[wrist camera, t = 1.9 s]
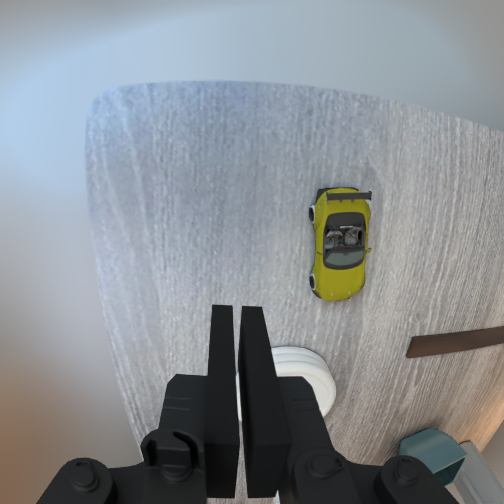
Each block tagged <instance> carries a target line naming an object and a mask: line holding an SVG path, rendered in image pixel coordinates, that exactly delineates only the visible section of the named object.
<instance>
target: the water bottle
mask: <svg viewBox="0 0 504 504" xmlns="http://www.w3.org/2000/svg"><path fill="white" fill-rule="evenodd" d="M460 446H461V447H462V448H463V450H464V451H465V452H466V453H467V454H468V457H467V459H466V461H465V462H464V464H463V466H462V468H461V470H460V472H459V474H458V476H457V477H456V479H455V481H454V484H455V486H456V488H457V490H458V491H459V493H460V495H461V497H462V498H463V500H464V502H465V504H504V488H503V487H502V485H501V484H500V482H499V481H498V479H497V478H496V476H495V475H494V473H493V472H492V470H491V469H490V467H489V466H488V464H487V463H486V461H485V460H484V458H483V457H482V456H481V454H480V452H479V451H478V449H477V448H476V447H475V445H474V444H473V442H471V441H468V442H464V443H462V444H460Z"/></svg>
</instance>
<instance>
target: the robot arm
mask: <svg viewBox="0 0 504 504" xmlns="http://www.w3.org/2000/svg"><path fill="white" fill-rule="evenodd" d="M238 375H239V390H240V405H241V419H242V432H243V445H244V458H245V471H246V483H247V494H248V498H270V497H276V494H277V491H278V494H279V500H280V504H459V503H458V501H456V499H455V498H454V497H453V496H452V495H451V493H450V492H449V491H448V490H447V489H446V488H445V487H444V485H443V484H442V483H441V482H440V481H439V480H438V479H437V477H436V476H435V475H434V474H433V473H432V472H431V471H430V469H429V468H428V467H427V466H426V465H425V464H424V463H423V462H422V461H420V460H419V459H418V458H415V457H412V456H408V455H399V456H395V457H392V458H390V459H389V460H388V461H386V462H385V464H384V465H383V466H374V465H363V464H357V463H352V462H350V461H348V460H346V459H345V457H344V456H342V455H341V454H340V453H338V452H337V451H335V449H334V447H333V445H332V443H331V440H330V437H329V434H328V431H327V428H326V425H325V422H324V419H323V416H322V413H321V410H319V408H320V407H319V405H318V402H317V400H316V396H315V393H314V390H313V387H312V386H311V384H310V383H309V382H308V381H307V380H306V379H305V378H304V377H303V376H277V373H276V369H275V364H274V360H273V355H272V351H271V346H270V342H269V337H268V333H267V328H266V323H265V319H264V314H263V310H262V307H256V306H242V312H241V326H240V339H239V352H238ZM140 447H141V451H142V455H143V458H144V461H143V462H141V463H139V464H137V465H133V466H129V467H120V468H109V469H108V468H107V467H106V466H105V465H104V464H102V463H101V462H99V461H97V460H94V459H90V458H76V459H73V460H71V461H68V462H67V463H66V464H65V465H64V466H63V467H61V469H60V470H59V472H58V473H57V475H56V476H55V477H54V479H53V480H52V482H51V483H50V484H49V486H48V488H47V489H46V490H45V492H44V493H43V495H42V496H41V497H40V499H39V500H38V502H37V503H36V504H207V498H235V488H236V479H237V469H238V459H239V449H240V437H239V421H238V405H237V387H236V369H235V350H234V329H233V307H232V306H231V305H212V317H211V330H210V344H209V359H208V375H207V376H200V375H185V374H176V375H175V376H174V377H173V378H172V379H171V380H170V381H169V383H168V384H167V388H166V393H165V399H164V402H163V409H162V412H161V417H160V423H159V428H158V429H156V430H153V431H151V432H150V433H149V434H148V435H147V436H145V437H144V439H143V441H142V443H141V445H140Z"/></svg>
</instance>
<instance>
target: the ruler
mask: <svg viewBox="0 0 504 504" xmlns="http://www.w3.org/2000/svg"><path fill="white" fill-rule="evenodd" d="M501 343H504V326H502V327H495V328H488V329H481V330H473V331H465V332H457V333H447V334H438V335H427V336H416V337H412V340H411V343H410V346H409V349H408V351H407V354H406V357H407V358H414V357H422V356H430V355H437V354H444V353H451V352H457V351H464V350H469V349H475V348H481V347H486V346H491V345H496V344H501Z"/></svg>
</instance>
